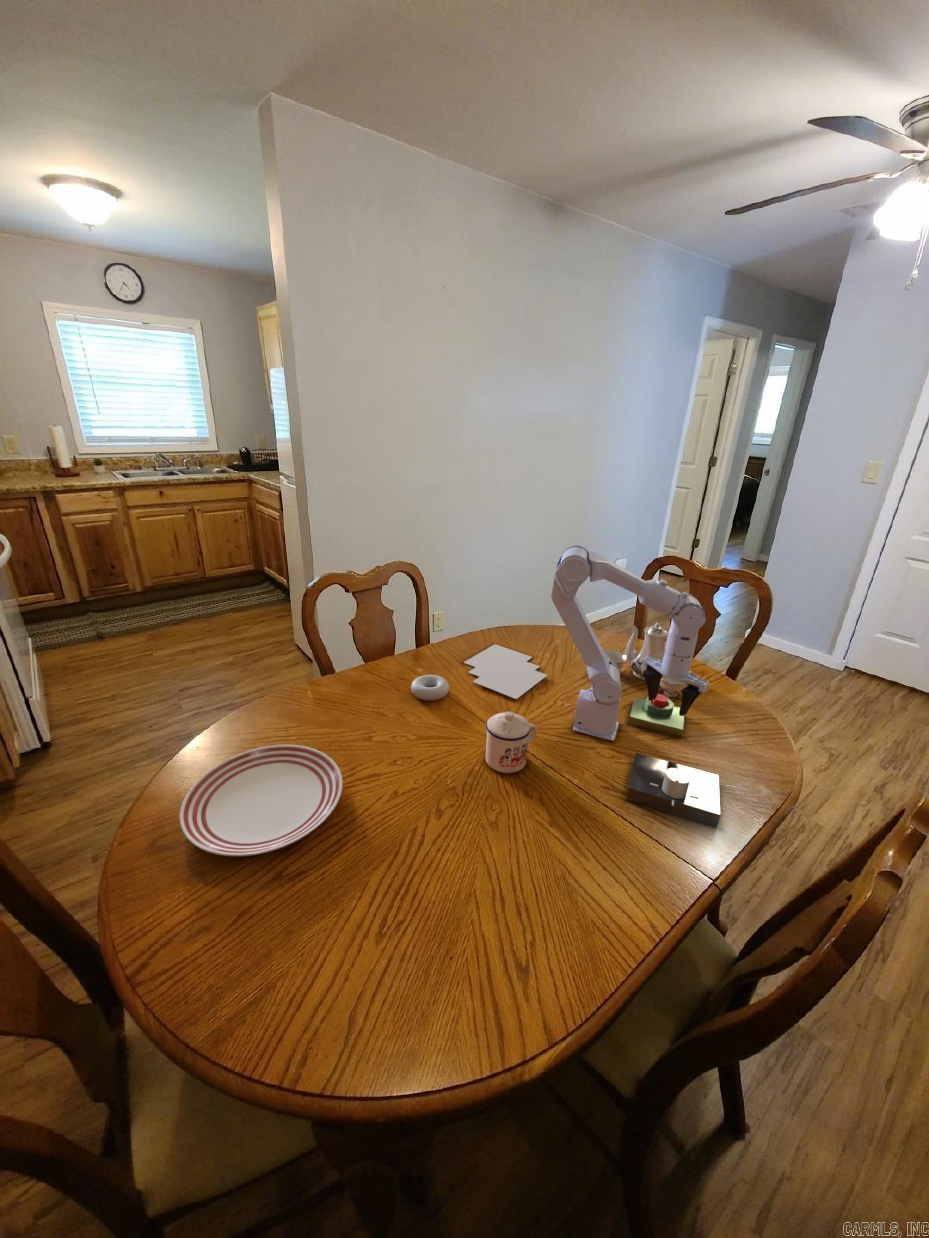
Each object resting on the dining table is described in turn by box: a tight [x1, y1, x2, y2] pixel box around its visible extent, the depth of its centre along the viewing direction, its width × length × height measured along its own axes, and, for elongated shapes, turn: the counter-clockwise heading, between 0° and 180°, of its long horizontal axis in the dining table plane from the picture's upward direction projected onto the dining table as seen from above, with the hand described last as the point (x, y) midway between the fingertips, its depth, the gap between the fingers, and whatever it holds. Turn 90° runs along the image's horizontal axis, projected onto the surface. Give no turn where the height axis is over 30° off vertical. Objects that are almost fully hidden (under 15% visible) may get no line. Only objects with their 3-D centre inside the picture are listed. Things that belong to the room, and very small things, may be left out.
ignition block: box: [627, 696, 685, 738], centre depth 122 cm, size 12×10×4 cm
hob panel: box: [625, 752, 722, 829], centre depth 97 cm, size 16×13×3 cm
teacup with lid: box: [485, 711, 538, 774], centre depth 104 cm, size 12×9×12 cm
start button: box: [652, 693, 669, 707], centre depth 122 cm, size 4×4×2 cm
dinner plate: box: [179, 744, 344, 857], centre depth 91 cm, size 28×27×3 cm
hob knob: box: [662, 768, 690, 799], centre depth 94 cm, size 4×4×4 cm
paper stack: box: [463, 643, 548, 700], centre depth 143 cm, size 23×25×1 cm
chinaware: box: [603, 622, 688, 698], centre depth 139 cm, size 28×17×17 cm, turn 55°
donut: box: [410, 674, 450, 702], centre depth 130 cm, size 10×4×10 cm
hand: (667, 706), depth 112 cm, fingers open, 7 cm apart
